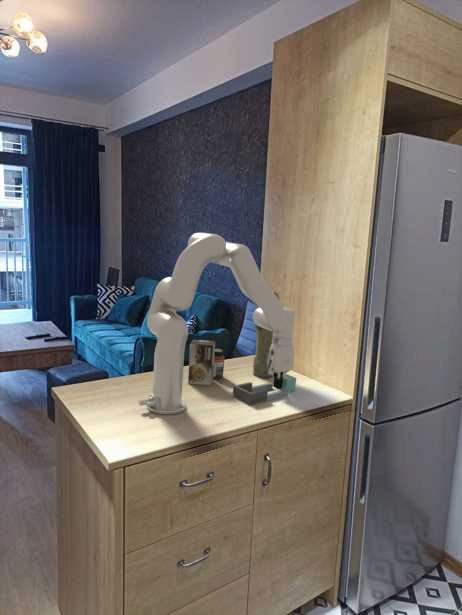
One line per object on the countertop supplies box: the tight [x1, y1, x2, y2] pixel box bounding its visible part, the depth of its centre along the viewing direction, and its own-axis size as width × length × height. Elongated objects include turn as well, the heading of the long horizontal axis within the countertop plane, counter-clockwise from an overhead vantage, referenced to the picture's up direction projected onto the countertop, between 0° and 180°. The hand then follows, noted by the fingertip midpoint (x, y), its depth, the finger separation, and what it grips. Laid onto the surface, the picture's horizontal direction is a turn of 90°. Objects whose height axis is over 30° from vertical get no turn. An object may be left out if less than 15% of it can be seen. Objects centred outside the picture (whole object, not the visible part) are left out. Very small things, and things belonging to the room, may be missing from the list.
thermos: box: [252, 291, 281, 379], centre depth 187 cm, size 9×12×35 cm
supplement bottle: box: [213, 348, 225, 380], centre depth 181 cm, size 6×6×11 cm
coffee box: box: [187, 339, 216, 387], centre depth 174 cm, size 9×6×16 cm
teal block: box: [278, 373, 297, 393], centre depth 174 cm, size 5×5×5 cm
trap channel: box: [232, 381, 289, 406], centre depth 166 cm, size 19×9×4 cm, turn 130°
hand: (277, 387), depth 171 cm, fingers closed
